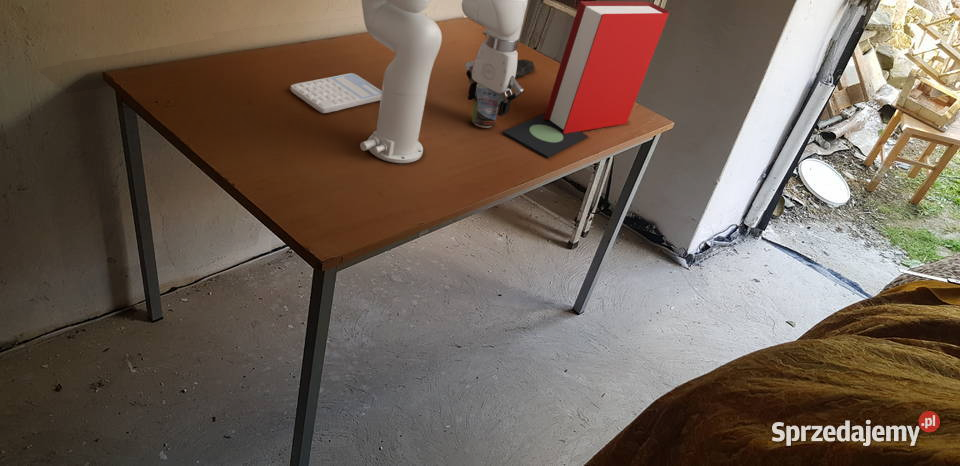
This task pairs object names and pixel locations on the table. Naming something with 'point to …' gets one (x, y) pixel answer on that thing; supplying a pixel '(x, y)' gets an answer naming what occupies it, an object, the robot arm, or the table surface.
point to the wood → (524, 67)
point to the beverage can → (485, 107)
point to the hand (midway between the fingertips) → (487, 106)
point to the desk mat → (543, 136)
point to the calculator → (337, 92)
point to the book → (604, 63)
